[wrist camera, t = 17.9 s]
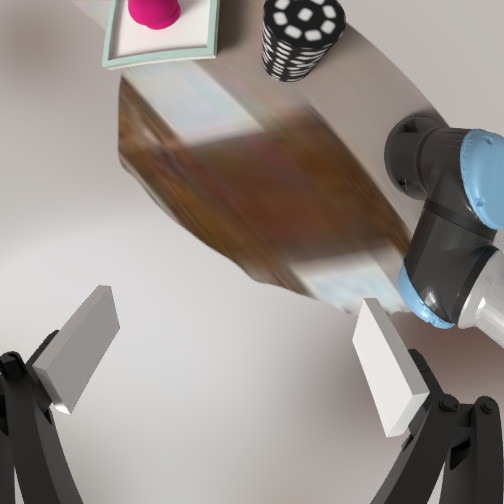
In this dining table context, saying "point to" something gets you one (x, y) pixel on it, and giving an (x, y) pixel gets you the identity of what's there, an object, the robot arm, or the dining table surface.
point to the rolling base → (161, 36)
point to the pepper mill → (154, 12)
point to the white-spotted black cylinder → (298, 35)
